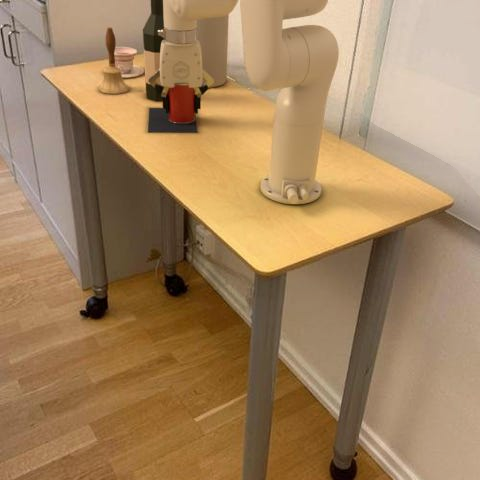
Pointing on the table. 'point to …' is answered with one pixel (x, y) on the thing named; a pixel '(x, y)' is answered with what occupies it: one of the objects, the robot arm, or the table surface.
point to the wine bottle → (153, 47)
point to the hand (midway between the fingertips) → (181, 111)
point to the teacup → (126, 62)
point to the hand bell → (112, 70)
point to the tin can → (181, 104)
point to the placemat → (167, 123)
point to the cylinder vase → (214, 48)
